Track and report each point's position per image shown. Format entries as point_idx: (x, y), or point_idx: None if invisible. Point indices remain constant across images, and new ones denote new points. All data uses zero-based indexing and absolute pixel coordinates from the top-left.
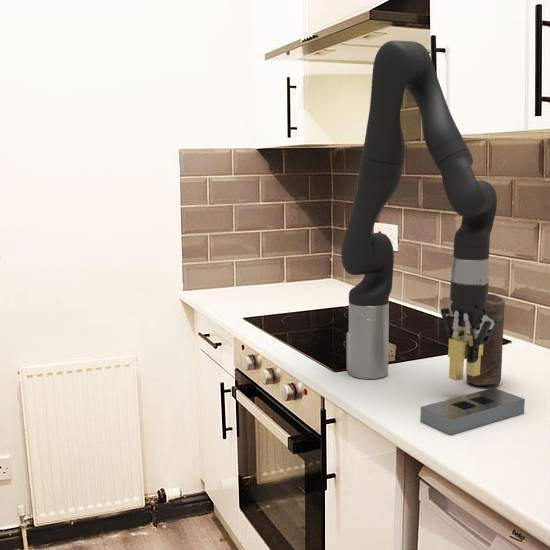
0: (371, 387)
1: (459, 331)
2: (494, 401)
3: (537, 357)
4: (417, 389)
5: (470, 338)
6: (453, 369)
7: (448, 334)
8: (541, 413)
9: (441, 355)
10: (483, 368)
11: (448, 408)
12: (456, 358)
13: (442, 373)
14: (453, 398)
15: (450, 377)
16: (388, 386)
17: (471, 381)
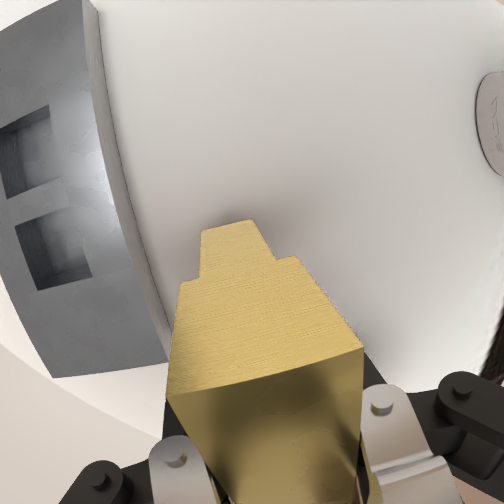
0: (433, 49)
1: (369, 485)
2: (43, 288)
3: None
4: (375, 160)
5: (179, 494)
6: (225, 242)
7: (453, 383)
8: (65, 383)
9: (487, 352)
10: None
11: (21, 80)
12: (204, 280)
13: (432, 310)
14: (98, 146)
15: (241, 222)
16: (427, 96)
17: None
